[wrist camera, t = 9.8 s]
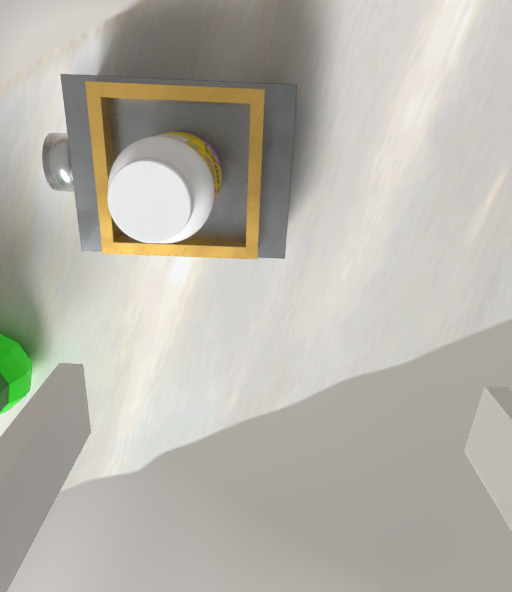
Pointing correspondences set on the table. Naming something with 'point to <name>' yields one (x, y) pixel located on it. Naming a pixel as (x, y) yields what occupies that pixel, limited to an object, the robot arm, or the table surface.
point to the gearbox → (191, 119)
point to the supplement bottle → (164, 187)
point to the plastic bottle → (13, 373)
